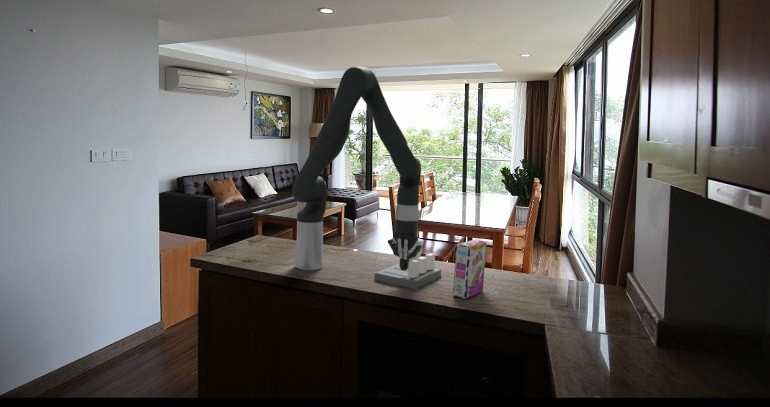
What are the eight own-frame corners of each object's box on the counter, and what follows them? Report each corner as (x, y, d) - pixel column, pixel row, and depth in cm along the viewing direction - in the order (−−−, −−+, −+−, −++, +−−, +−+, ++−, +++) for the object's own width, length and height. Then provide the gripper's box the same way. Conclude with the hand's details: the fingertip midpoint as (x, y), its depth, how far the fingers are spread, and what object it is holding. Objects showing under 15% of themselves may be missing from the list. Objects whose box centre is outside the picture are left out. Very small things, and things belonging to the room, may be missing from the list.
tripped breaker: (407, 277, 152) (408, 261, 152) (413, 274, 155) (413, 259, 155) (413, 278, 151) (414, 263, 151) (418, 275, 154) (419, 260, 154)
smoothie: (421, 267, 176) (423, 230, 174) (404, 266, 177) (406, 229, 175) (423, 263, 182) (425, 227, 180) (407, 261, 183) (408, 226, 181)
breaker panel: (374, 279, 158) (375, 256, 157) (401, 268, 173) (402, 247, 172) (416, 289, 150) (417, 264, 149) (440, 276, 165) (441, 254, 164)
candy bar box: (466, 300, 141) (469, 246, 139) (452, 296, 144) (455, 244, 142) (484, 291, 149) (487, 241, 147) (470, 288, 153) (473, 238, 150)
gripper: (383, 216, 153) (381, 268, 155) (419, 222, 146) (416, 276, 148) (395, 214, 159) (392, 263, 162) (430, 219, 152) (427, 271, 155)
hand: (404, 269), depth 155 cm, fingers closed
